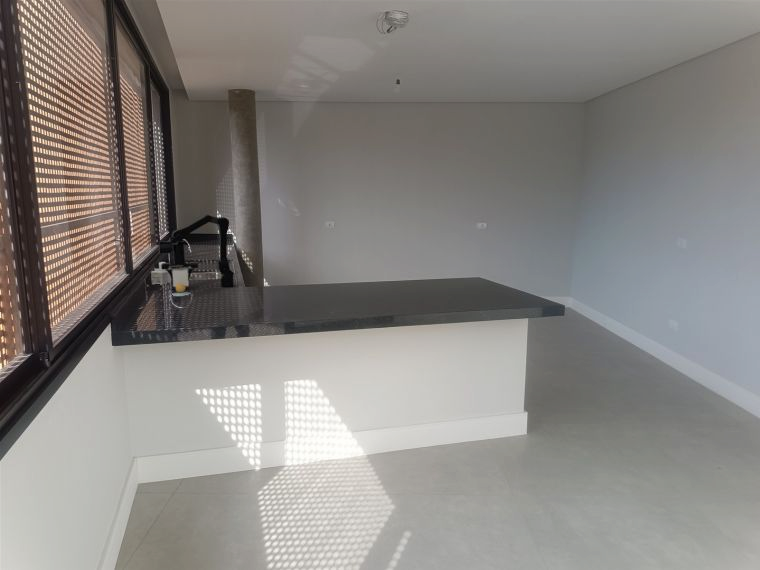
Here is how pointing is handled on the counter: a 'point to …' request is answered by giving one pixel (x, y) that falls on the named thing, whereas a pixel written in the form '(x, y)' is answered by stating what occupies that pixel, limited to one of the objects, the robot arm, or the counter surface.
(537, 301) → the counter surface
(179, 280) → the matte gray cube
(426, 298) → the counter surface
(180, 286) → the ball
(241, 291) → the counter surface
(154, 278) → the container
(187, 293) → the disc
